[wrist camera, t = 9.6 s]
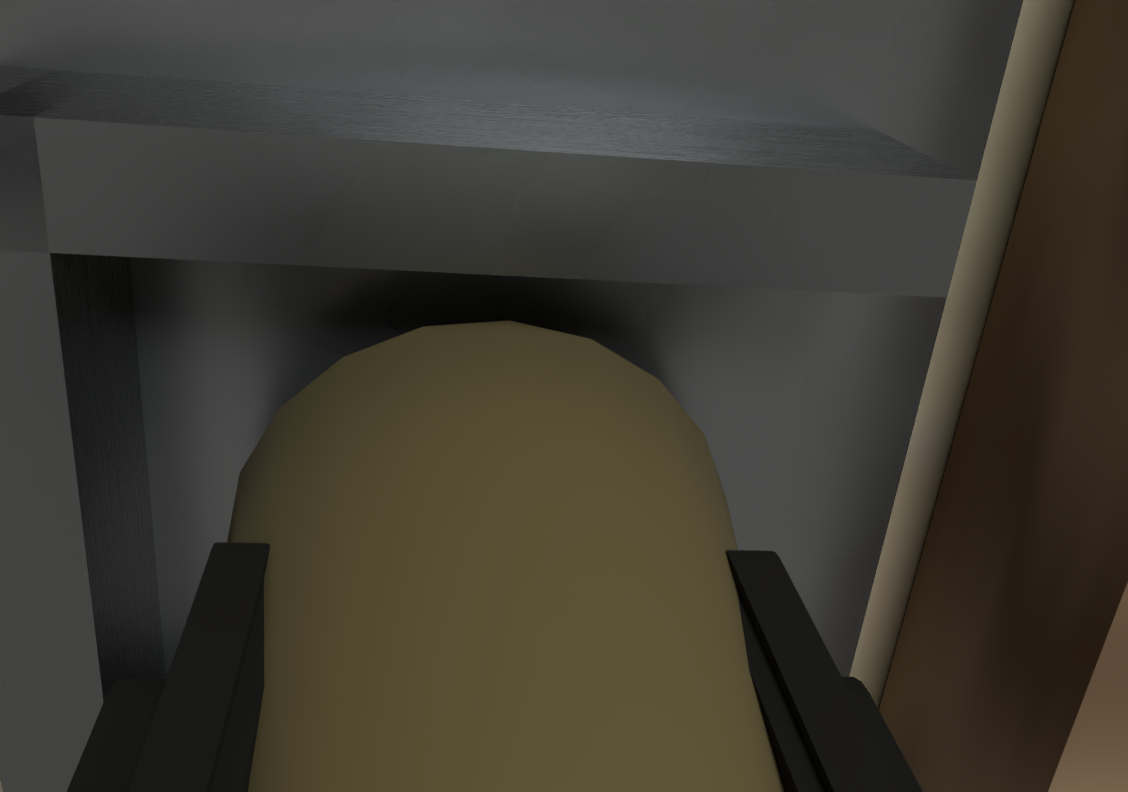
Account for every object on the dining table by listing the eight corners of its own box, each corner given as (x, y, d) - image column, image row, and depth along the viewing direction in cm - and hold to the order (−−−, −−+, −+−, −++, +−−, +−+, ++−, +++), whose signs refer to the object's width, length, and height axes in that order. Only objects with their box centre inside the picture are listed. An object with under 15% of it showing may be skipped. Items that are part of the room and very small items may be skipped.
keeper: (-93, -133, 11) (-279, -145, 8) (1003, -26, 12) (1168, -4, 10) (59, 857, 16) (-16, 1052, 14) (789, 837, 18) (854, 1006, 15)
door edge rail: (1195, -432, 11) (1575, -597, 7) (1364, -404, 11) (1810, -549, 8) (801, 987, 20) (883, 1226, 16) (900, 982, 20) (1001, 1216, 17)
